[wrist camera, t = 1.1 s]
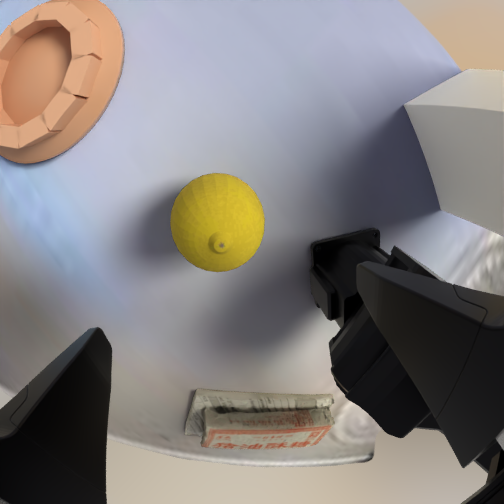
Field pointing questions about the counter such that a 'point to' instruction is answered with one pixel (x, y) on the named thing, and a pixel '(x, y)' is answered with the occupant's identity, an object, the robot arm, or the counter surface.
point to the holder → (56, 76)
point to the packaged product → (259, 419)
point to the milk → (465, 144)
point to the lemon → (217, 222)
